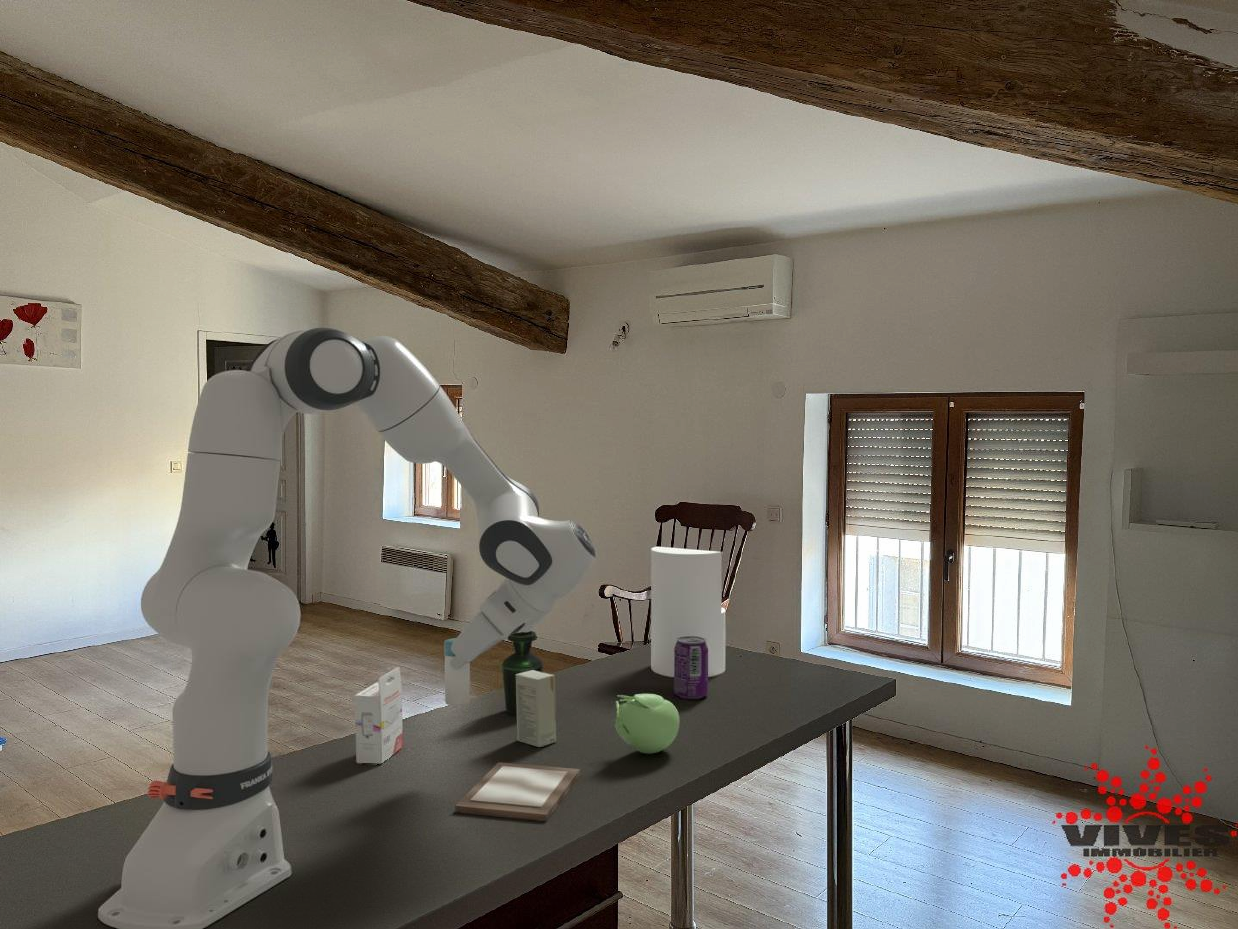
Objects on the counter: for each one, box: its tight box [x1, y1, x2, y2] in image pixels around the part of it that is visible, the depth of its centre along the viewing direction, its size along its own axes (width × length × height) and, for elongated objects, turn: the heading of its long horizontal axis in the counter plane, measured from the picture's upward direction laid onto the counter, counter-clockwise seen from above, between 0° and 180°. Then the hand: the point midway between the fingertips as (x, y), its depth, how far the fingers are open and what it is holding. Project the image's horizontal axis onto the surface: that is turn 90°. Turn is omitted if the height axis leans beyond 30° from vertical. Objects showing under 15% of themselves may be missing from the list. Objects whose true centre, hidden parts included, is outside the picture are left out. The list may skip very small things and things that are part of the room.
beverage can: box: [673, 636, 709, 700], centre depth 195 cm, size 7×7×12 cm
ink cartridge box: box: [353, 666, 404, 764], centre depth 159 cm, size 9×5×15 cm, turn 168°
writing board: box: [454, 761, 581, 822], centre depth 143 cm, size 18×14×1 cm
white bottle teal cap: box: [443, 637, 471, 706], centre depth 151 cm, size 4×4×10 cm
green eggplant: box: [614, 693, 680, 755], centre depth 160 cm, size 12×11×11 cm
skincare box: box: [516, 670, 557, 748], centre depth 167 cm, size 6×4×12 cm
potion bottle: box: [501, 630, 544, 717], centre depth 184 cm, size 8×8×18 cm
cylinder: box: [650, 546, 726, 678], centre depth 217 cm, size 17×17×28 cm
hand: (460, 662), depth 151 cm, fingers closed on white bottle teal cap, 4 cm apart
